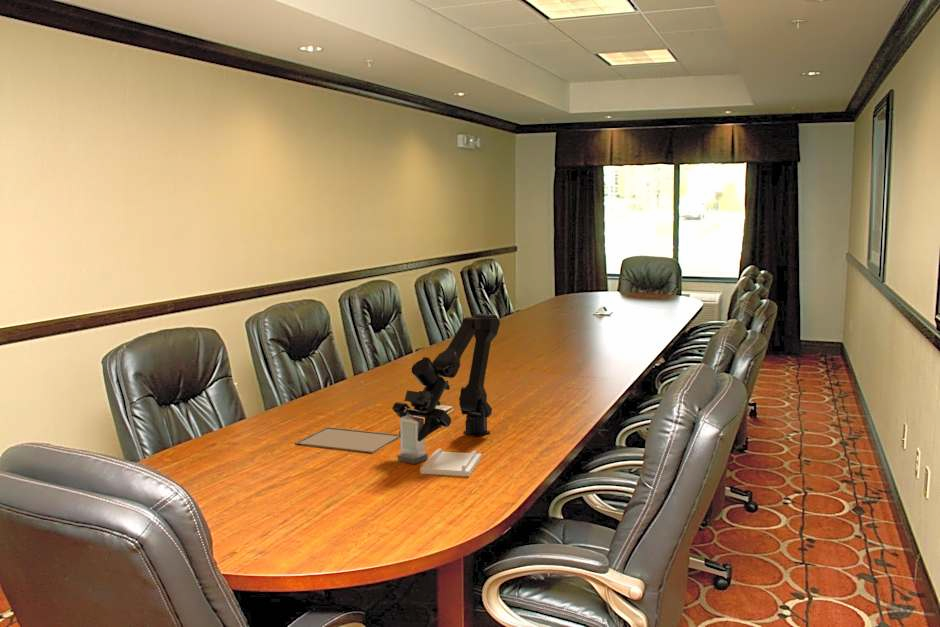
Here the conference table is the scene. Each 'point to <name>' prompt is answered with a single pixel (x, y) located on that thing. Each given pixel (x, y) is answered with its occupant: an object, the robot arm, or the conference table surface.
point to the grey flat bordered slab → (349, 439)
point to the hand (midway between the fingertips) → (409, 438)
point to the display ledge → (451, 463)
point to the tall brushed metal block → (411, 440)
